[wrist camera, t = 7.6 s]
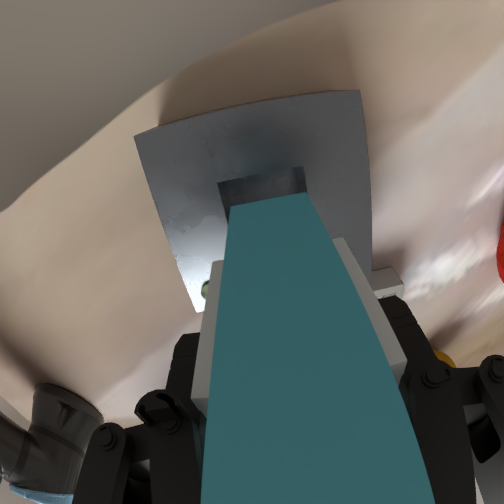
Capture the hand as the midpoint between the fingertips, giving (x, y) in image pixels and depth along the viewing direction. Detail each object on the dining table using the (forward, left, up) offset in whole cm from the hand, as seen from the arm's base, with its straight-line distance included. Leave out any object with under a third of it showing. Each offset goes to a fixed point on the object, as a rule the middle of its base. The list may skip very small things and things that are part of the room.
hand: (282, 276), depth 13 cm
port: (0, 0, -13) cm, 13 cm away
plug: (0, 0, -4) cm, 4 cm away
